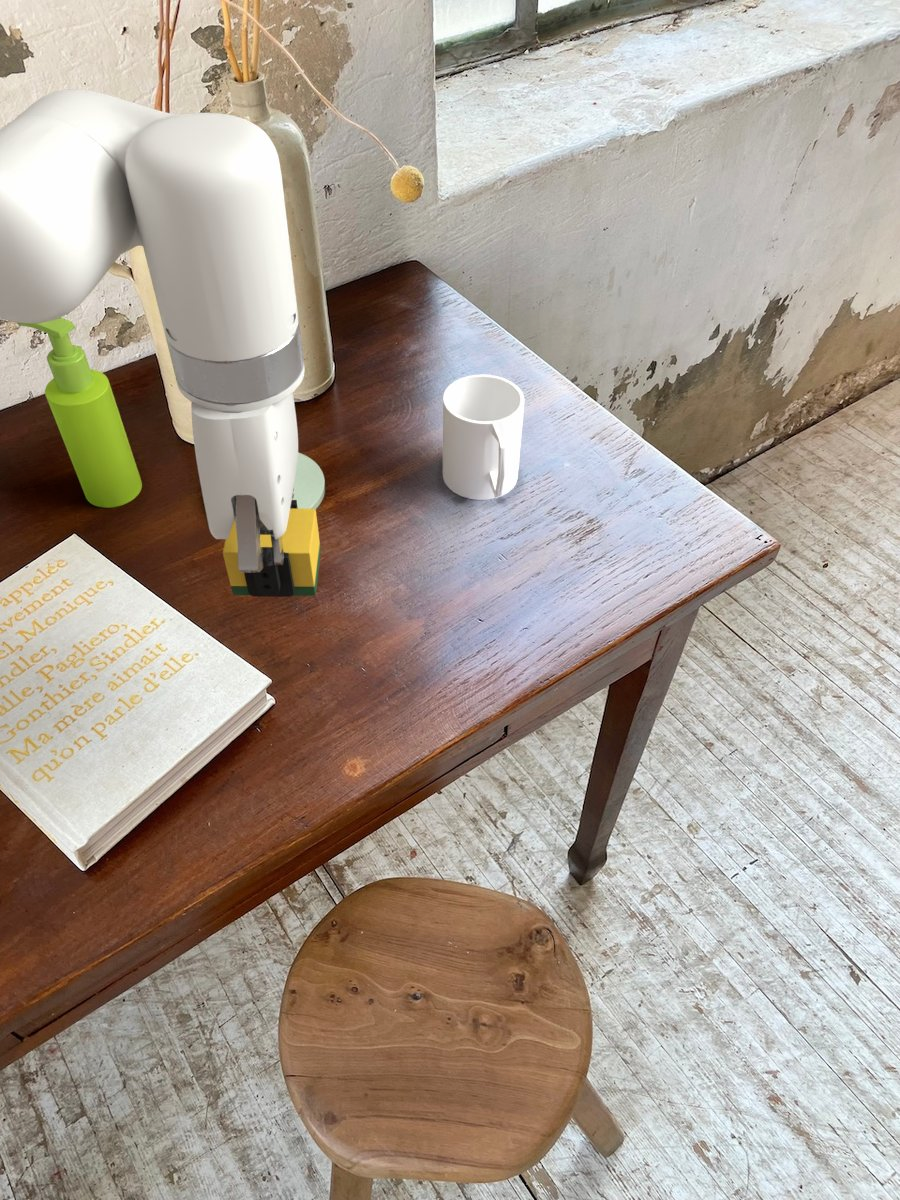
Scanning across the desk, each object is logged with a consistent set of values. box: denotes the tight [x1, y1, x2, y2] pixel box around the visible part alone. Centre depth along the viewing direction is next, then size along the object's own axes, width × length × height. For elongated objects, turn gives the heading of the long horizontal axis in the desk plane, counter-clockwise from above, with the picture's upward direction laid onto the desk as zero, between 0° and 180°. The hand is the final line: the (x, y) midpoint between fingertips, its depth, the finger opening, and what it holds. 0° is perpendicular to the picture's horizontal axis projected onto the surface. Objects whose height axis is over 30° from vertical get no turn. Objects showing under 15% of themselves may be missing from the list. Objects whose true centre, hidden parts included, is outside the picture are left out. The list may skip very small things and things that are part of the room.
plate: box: [292, 452, 326, 510], centre depth 95 cm, size 12×12×1 cm
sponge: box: [222, 509, 322, 597], centre depth 65 cm, size 6×4×4 cm
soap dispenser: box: [15, 317, 143, 509], centre depth 89 cm, size 6×7×20 cm
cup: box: [442, 373, 525, 501], centre depth 93 cm, size 8×12×10 cm
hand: (276, 564), depth 66 cm, fingers closed on sponge, 4 cm apart
